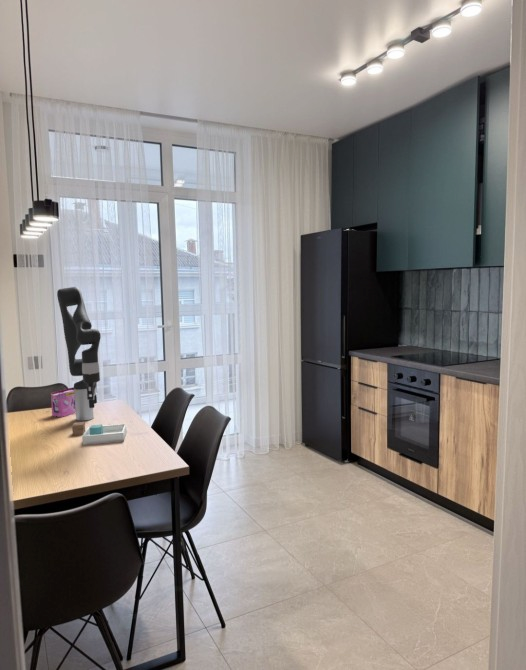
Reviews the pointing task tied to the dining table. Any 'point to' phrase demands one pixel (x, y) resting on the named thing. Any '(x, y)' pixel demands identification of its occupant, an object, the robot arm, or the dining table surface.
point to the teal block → (96, 429)
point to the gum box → (63, 402)
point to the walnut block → (78, 428)
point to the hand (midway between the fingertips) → (93, 405)
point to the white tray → (106, 434)
